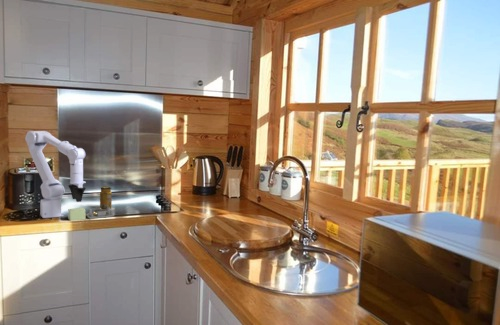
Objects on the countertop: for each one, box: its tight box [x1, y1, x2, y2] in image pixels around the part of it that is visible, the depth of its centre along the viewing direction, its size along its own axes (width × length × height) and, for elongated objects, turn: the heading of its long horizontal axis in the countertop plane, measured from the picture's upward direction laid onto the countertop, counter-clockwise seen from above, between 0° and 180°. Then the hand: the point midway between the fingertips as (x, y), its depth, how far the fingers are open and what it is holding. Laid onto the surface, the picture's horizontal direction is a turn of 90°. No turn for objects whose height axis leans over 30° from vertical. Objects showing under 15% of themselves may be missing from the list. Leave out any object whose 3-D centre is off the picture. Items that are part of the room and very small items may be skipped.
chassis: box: [85, 207, 115, 220], centre depth 214 cm, size 12×9×4 cm
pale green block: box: [67, 207, 87, 222], centre depth 205 cm, size 7×4×5 cm, turn 125°
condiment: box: [96, 186, 115, 211], centre depth 231 cm, size 7×8×12 cm
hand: (76, 200), depth 205 cm, fingers open, 7 cm apart
